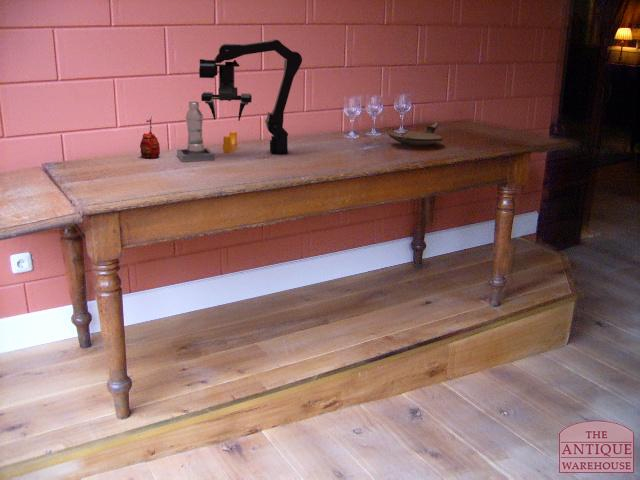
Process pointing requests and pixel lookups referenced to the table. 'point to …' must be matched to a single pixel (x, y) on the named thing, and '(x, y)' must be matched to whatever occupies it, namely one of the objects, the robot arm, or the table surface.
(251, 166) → the table surface
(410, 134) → the oil lamp
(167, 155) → the table surface
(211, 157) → the tray
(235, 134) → the orange stepped block
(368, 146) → the table surface
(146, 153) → the red clay folk toy
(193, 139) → the plastic bottle
